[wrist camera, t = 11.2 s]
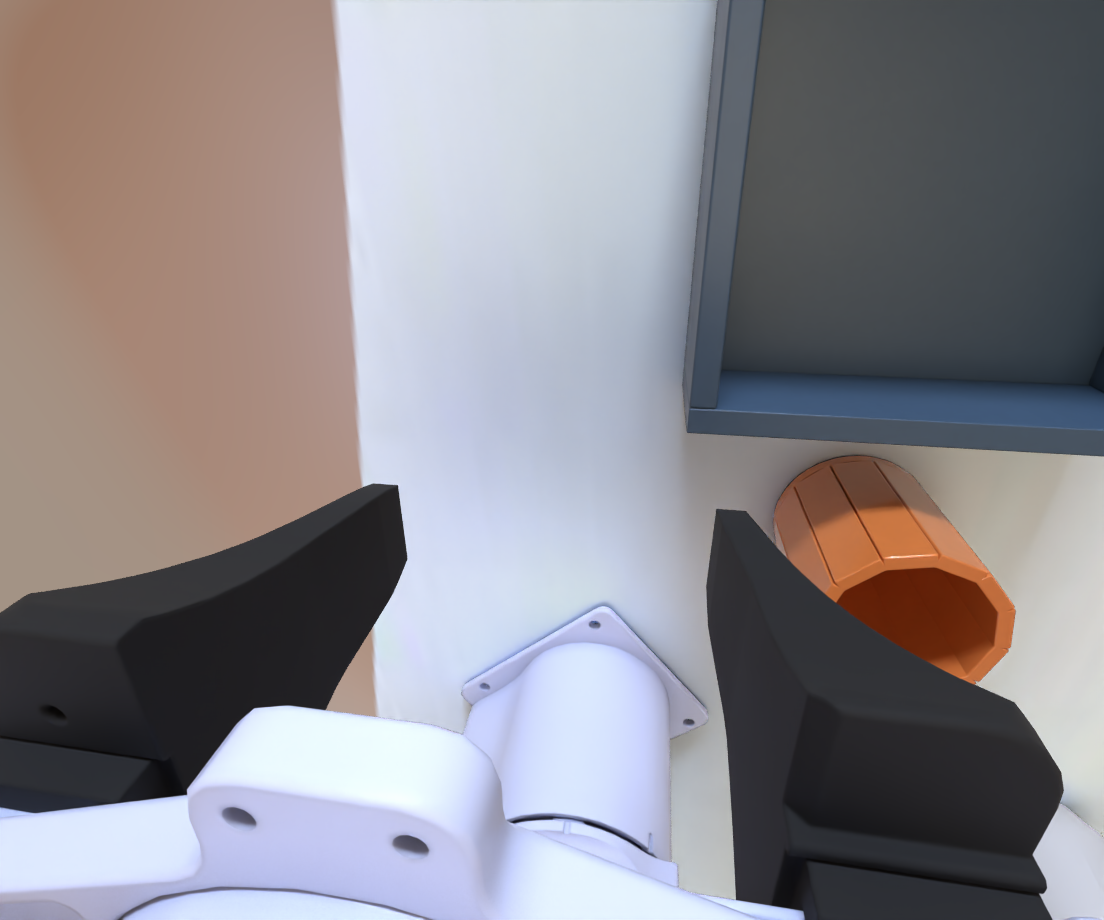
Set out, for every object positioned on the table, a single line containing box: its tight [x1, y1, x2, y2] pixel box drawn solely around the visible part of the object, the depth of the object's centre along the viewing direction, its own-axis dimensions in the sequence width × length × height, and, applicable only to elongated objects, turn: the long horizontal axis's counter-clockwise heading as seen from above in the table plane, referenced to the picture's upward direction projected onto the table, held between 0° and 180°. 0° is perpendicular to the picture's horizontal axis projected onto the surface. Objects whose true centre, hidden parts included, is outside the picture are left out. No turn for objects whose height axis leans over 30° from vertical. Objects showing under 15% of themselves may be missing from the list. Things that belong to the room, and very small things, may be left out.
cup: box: [773, 456, 1016, 685], centre depth 21 cm, size 6×6×6 cm
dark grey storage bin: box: [682, 0, 1104, 456], centre depth 16 cm, size 14×14×4 cm
